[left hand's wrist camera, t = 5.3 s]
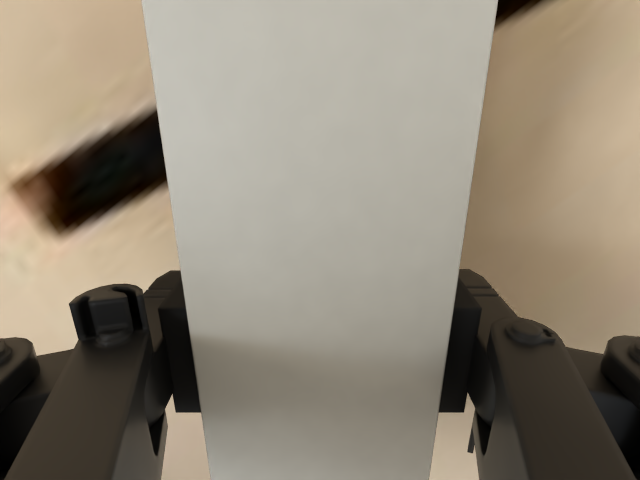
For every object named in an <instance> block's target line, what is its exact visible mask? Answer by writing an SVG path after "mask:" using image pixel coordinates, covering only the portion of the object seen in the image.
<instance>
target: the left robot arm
mask: <svg viewBox="0 0 640 480" xmlns="http://www.w3.org/2000/svg"><path fill="white" fill-rule="evenodd" d="M69 306H70V310H71V313H72V317H73V321H74V325H75V328H76V332H77V336H78V339H79V340H78V342H77V344H76V346H75V348H74V349H71V350H66V351H61V352H56V353H50V354H45V355H40V356H36V353H35V350H34V347H33V344H32V342H30V341H29V340H27V339H25V338H17V337H14V338H5V339H3V338H2V339H0V480H161V474H162V466H163V459H164V451H165V443H166V436H167V428H168V425H167V418H166V413H165V408H166V406H167V404H168V402H169V400H170V397H171V395H172V393H173V399H174V405H175V410H176V412H201V408H200V401H199V394H198V387H197V380H196V373H195V366H194V359H193V352H192V346H191V339H190V332H189V325H188V318H187V311H186V304H185V297H184V290H183V284H182V277H181V271H169V272H167V273H166V274H164V275H162V276H160V277H159V278H157V279H156V280H155V281H154V282H153V283H152V285H151V286H150V287H149V288H148V290H146V292H145V293H144V294H143V291H142V289H141V288H139V287H138V286H136V285H130V284H112V285H107V286H102V287H98V288H95V289H92V290H89V291H87V292H85V293H83V294H81V295H79V296H77V297H76V298H75V299H74V300H72V301H71V302H70V303H69ZM467 392H468V394H469V396H470V398H471V400H472V402H473V404H474V406H475V413H474V418H473V423H472V429H471V434H470V439H469V445H468V452H469V453H473V449H474V445H475V450H476V458H477V465H478V473H479V480H640V337H634V336H617V337H613V338H612V339H610V340H609V341H608V343H607V346H606V349H605V352H604V354H599V353H594V352H588V351H583V350H578V349H572V348H568V347H565V345H564V343H563V341H562V339H561V338H560V337H559V336H558V335H557V334H556V333H555V332H554V331H553V330H551V329H550V328H548V327H546V326H545V325H543V324H540V323H538V322H535V321H533V320H529V319H524V318H520V317H518V316H517V315H516V314H515V313H514V312H513V311H512V310H511V308H510V307H509V306H508V305H507V304H506V303H505V302H504V300H503V299H502V298H501V297H498V294H497V292H496V291H495V290H494V289H492V288H491V285H490V284H489V283H488V282H487V281H486V280H485V279H484V277H482V276H480V275H478V274H477V273H475V272H473V271H471V270H470V269H459V274H458V281H457V288H456V295H455V302H454V309H453V316H452V323H451V330H450V336H449V343H448V350H447V357H446V364H445V371H444V378H443V385H442V392H441V399H440V406H439V412H464V409H465V403H466V397H467Z"/></svg>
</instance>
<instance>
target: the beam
mask: <svg viewBox="0 0 640 480" xmlns="http://www.w3.org/2000/svg"><path fill="white" fill-rule="evenodd" d="M141 1H142V8H143V15H144V22H145V29H146V35H147V42H148V49H149V56H150V63H151V70H152V77H153V84H154V91H155V98H156V104H157V111H158V118H159V125H160V132H161V139H162V146H163V153H164V160H165V166H166V173H167V180H168V187H169V194H170V201H171V208H172V215H173V222H174V228H175V235H176V242H177V249H178V256H179V263H180V270H181V277H182V284H183V290H184V297H185V304H186V311H187V318H188V325H189V332H190V339H191V346H192V352H193V359H194V366H195V373H196V380H197V387H198V394H199V401H200V408H201V414H202V421H203V428H204V435H205V442H206V449H207V456H208V463H209V470H210V476H211V480H429V475H430V468H431V461H432V454H433V447H434V440H435V433H436V426H437V420H438V413H439V406H440V399H441V392H442V385H443V378H444V371H445V364H446V357H447V350H448V343H449V336H450V330H451V323H452V316H453V309H454V302H455V295H456V288H457V281H458V274H459V267H460V260H461V253H462V246H463V239H464V233H465V226H466V219H467V212H468V205H469V198H470V191H471V184H472V177H473V170H474V163H475V156H476V149H477V142H478V136H479V129H480V122H481V115H482V108H483V101H484V94H485V87H486V80H487V73H488V66H489V59H490V52H491V46H492V39H493V32H494V25H495V18H496V11H497V4H498V0H141Z"/></svg>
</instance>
